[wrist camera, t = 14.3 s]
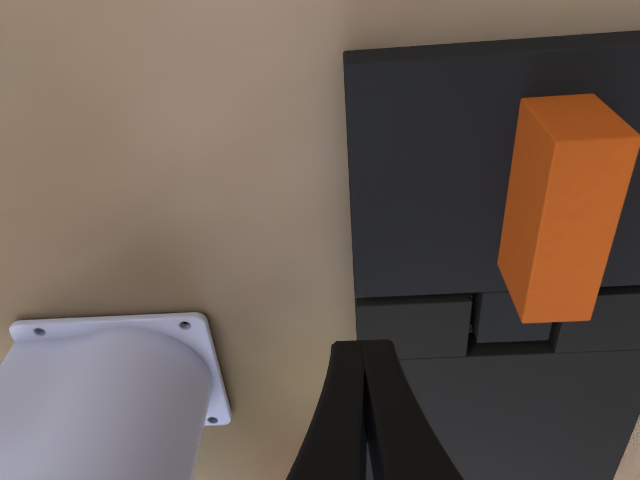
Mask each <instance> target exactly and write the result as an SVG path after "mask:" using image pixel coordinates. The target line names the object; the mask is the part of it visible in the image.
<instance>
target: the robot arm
mask: <svg viewBox="0 0 640 480" xmlns="http://www.w3.org/2000/svg"><path fill="white" fill-rule="evenodd" d="M183 322H188V323H189V324H185V323H183ZM40 328H41V329H40ZM42 329H43V330H42ZM9 332H10V334H11V336H12V338H13V340H14V341H15V343H14V344H13V346H12V347H11V349H10V350H9V352H8V353H7V355H6V357H5V358H4V360H3V361H2V363H1V364H0V480H193V475H194V471H195V466H196V462H197V457H198V452H199V448H200V443H201V439H202V434H203V429H204V426H208V425H226V424H228V423H230V421H231V417H232V413H231V409H230V405H229V401H228V397H227V394H226V390H225V386H224V382H223V378H222V374H221V370H220V366H219V363H218V359H217V355H216V351H215V347H214V343H213V339H212V335H211V331H210V328H209V324H208V320H207V318H206V316H205V315H203V314H201V313H198V312H188V313H167V314H145V315H123V316H102V317H80V318H58V319H37V320H18V321H15V322H13V323H12V325H11V326H10V328H9ZM367 443H368V449H369V456H370V462H371V469H372V475H373V480H464V478H463V477H462V476H461V474H460V473H459V471H458V470H457V468H456V467H455V465H454V464H453V462H452V461H451V459H450V457H449V456H448V454H447V453H446V451H445V449H444V448H443V446H442V445H441V443H440V441H439V440H438V438H437V436H436V435H435V433H434V431H433V429H432V428H431V426H430V424H429V422H428V421H427V419H426V417H425V415H424V413H423V411H422V409H421V407H420V406H419V404H418V402H417V400H416V398H415V396H414V394H413V392H412V390H411V388H410V385H409V383H408V381H407V379H406V377H405V374H404V372H403V369H402V367H401V364H400V362H399V359H398V356H397V353H396V350H395V346H394V343H393V342H392V341H391V340H389V339H381V340H357V341H336V342H335V343H334V344H332V346H331V356H330V361H329V366H328V371H327V375H326V379H325V382H324V386H323V389H322V392H321V395H320V398H319V401H318V404H317V407H316V410H315V413H314V416H313V419H312V421H311V424H310V426H309V429H308V431H307V434H306V436H305V439H304V441H303V443H302V446H301V448H300V451H299V453H298V455H297V457H296V460H295V462H294V464H293V466H292V468H291V470H290V472H289V474H288V476H287V478H286V480H366V465H367Z"/></svg>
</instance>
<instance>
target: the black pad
mask: <svg viewBox="0 0 640 480" xmlns="http://www.w3.org/2000/svg"><path fill="white" fill-rule="evenodd" d="M471 309H472V299H471V296H470V293H452V294H430V295H408V296H387V297H365V298H356V297H355V310H356V331H357V340H381V339H389V340H391V341H392V342H393V343H394V346H395V350H396V353H397V356H398V359H399V362H400V364H401V367H402V369H403V372H404V374H405V377H406V379H407V381H408V383H409V385H410V388H411V390H412V392H413V394H414V396H415V398H416V400H417V402H418V404H419V406H420V407H421V409H422V411H423V413H424V415H425V417H426V419H427V421H428V422H429V424H430V426H431V428H432V429H433V431H434V433H435V435H436V436H437V438H438V440H439V441H440V443H441V445H442V446H443V448H444V449H445V451H446V453H447V454H448V456H449V457H450V459H451V461H452V462H453V464H454V465H455V467H456V468H457V470H458V471H459V473H460V474H461V476H462V477H463V478H464V480H613V478H614V476H615V473H616V471H617V468H618V466H619V464H620V461H621V459H622V456H623V454H624V451H625V449H626V446H627V444H628V441H629V439H630V437H631V434H632V432H633V429H634V427H635V424H636V422H637V419H638V417H639V415H640V285H626V286H604V287H600V289H599V292H598V296H597V299H596V303H595V306H594V310H593V313H592V317H591V320H589V321H568V322H552V326H551V330H550V335H549V339H548V340H535V341H511V342H487V343H477V341H476V338H475V335H474V334H469V327H470V318H471ZM366 480H373V475H372V469H371V462H370V456H369V449H368V443H367V465H366Z"/></svg>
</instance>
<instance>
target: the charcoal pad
mask: <svg viewBox="0 0 640 480" xmlns="http://www.w3.org/2000/svg"><path fill="white" fill-rule="evenodd" d="M343 63H344V84H345V105H346V126H347V147H348V168H349V189H350V210H351V230H352V251H353V272H354V290H355V297H356V298H365V297H387V296H408V295H430V294H452V293H473V299H472V309H471V318H470V322H471V325H472V328H473V332H474V335H475V338H476V341H477V343H487V342H511V341H535V340H548V339H549V335H550V330H551V326H552V322H568V321H589V320H591V317H592V313H593V310H594V306H595V303H596V299H597V296H598V292H599V289H600V287H604V286H626V285H640V31H626V32H612V33H597V34H583V35H569V36H554V37H540V38H526V39H511V40H497V41H483V42H468V43H454V44H440V45H425V46H411V47H397V48H382V49H368V50H354V51H344V52H343Z"/></svg>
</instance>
